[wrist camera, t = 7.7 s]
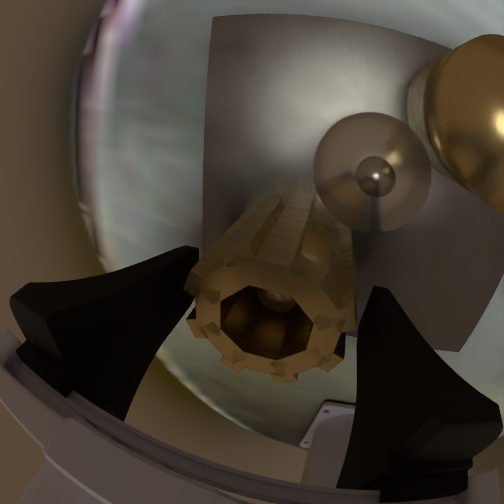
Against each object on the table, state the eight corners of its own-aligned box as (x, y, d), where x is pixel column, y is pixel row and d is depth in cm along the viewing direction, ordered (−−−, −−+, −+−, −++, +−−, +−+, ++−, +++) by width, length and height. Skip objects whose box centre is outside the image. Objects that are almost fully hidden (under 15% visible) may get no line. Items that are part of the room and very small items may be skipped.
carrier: (455, 341, 13) (475, 420, 8) (211, 292, 17) (160, 364, 12) (533, 100, 6) (611, 112, 1) (221, 22, 10) (143, -21, 4)
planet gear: (336, 314, 14) (327, 393, 10) (231, 290, 15) (190, 356, 11) (365, 209, 11) (379, 270, 7) (236, 186, 12) (178, 229, 8)
